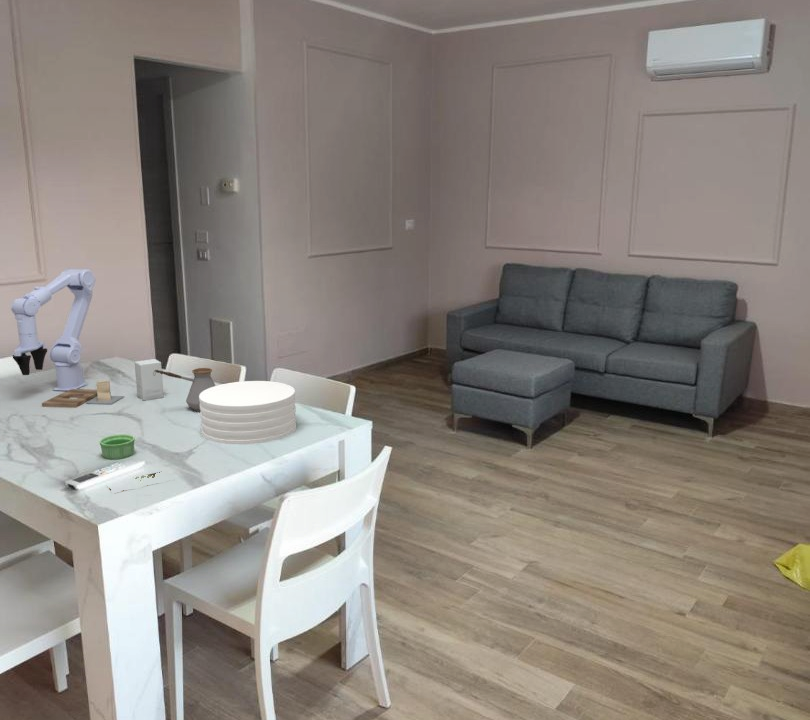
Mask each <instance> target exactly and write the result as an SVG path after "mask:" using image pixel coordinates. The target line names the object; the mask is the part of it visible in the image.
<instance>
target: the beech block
mask: <svg viewBox="0 0 810 720" xmlns="http://www.w3.org/2000/svg"><path fill="white" fill-rule="evenodd" d="M96 390H97V395H98V396H97V397H98V402H99V401H109V400H111V396H112V394H111V385H110V380H101V381H100V380H99V381H96Z"/></svg>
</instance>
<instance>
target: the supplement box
mask: <svg viewBox="0 0 810 720" xmlns="http://www.w3.org/2000/svg"><path fill="white" fill-rule="evenodd" d="M155 370H159V371H163V369H162V362H161V361H159V360H158V359H156V358H151V359H145V360H136V361H134V371H135V383H136V395H137V397H138V398H139V399H141V400H142V401H151V400H156V399H162V398H164V397H165V394H164V393H165V391H164V383H163V382H164V381H163V374H161V373H157V372H154V371H155ZM153 372H154V375H155V373H156V375H155V376H153Z"/></svg>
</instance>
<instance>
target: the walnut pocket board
mask: <svg viewBox="0 0 810 720" xmlns="http://www.w3.org/2000/svg"><path fill="white" fill-rule="evenodd" d="M96 397H98V395H97V389H91V388H90V389H86V388H84V389H83V388H78V389H70V390H68V391H63V392H62V393H59V394H58V395H56V396H53V397H52V398H49V399H47V400H46V401H43V402H41V407H42V406H43V407H46V408H48V407H49V408H78V407H80V406H82V405H84V404H86V402H88V401H90V400H92V399H94V398H96ZM43 407H42V408H43Z"/></svg>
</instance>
